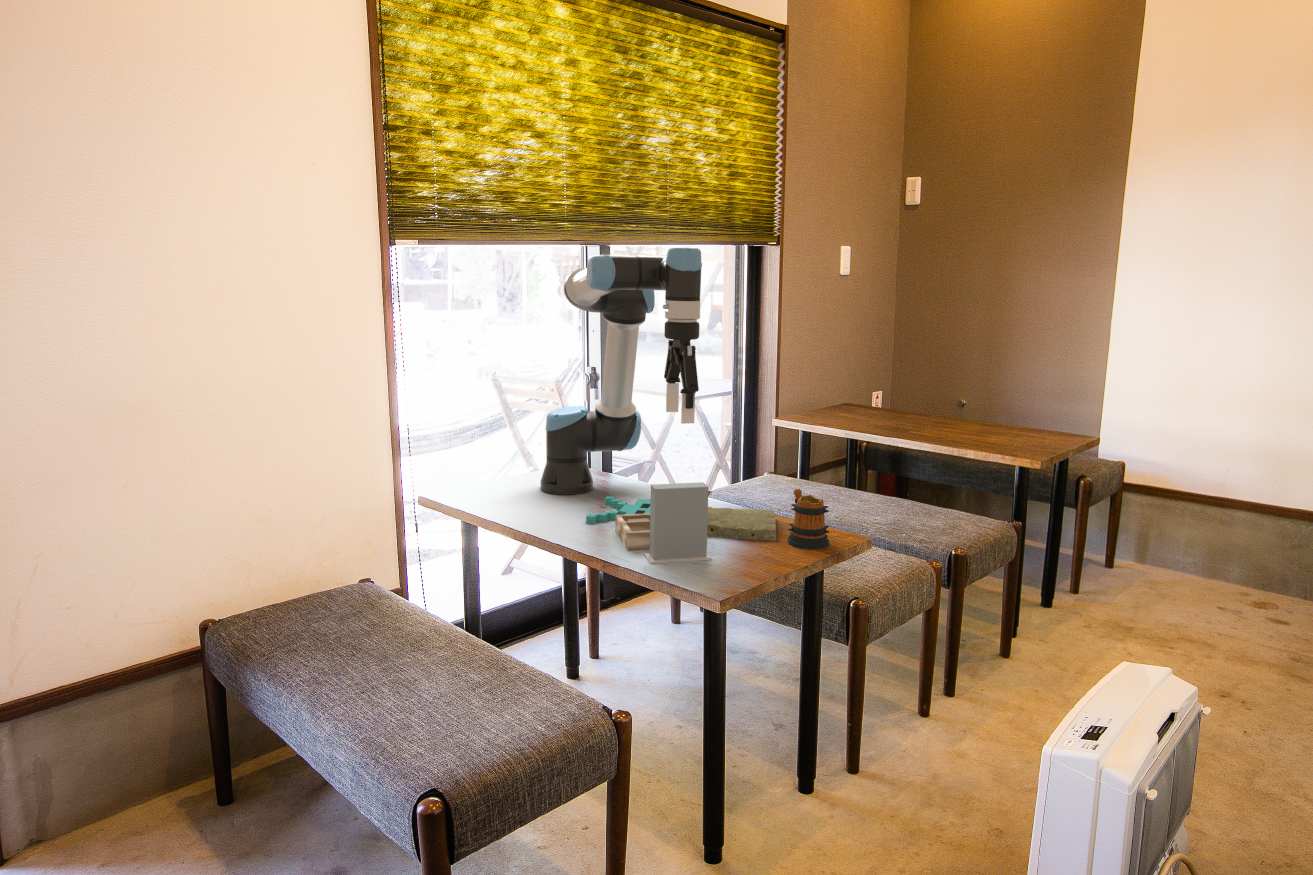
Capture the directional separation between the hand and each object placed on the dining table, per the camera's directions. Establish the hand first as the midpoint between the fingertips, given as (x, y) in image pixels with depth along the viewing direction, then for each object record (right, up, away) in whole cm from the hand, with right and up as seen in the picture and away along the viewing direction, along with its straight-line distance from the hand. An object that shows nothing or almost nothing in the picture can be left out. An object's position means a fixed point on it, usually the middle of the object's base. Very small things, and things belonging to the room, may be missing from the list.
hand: (679, 417), depth 194 cm
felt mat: (0, -31, +2) cm, 31 cm away
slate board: (0, -31, +2) cm, 31 cm away
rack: (-5, -28, +15) cm, 32 cm away
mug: (+30, -29, +15) cm, 44 cm away
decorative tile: (+15, -28, +25) cm, 40 cm away
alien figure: (-11, -25, +34) cm, 44 cm away
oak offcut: (-9, -28, +18) cm, 35 cm away
